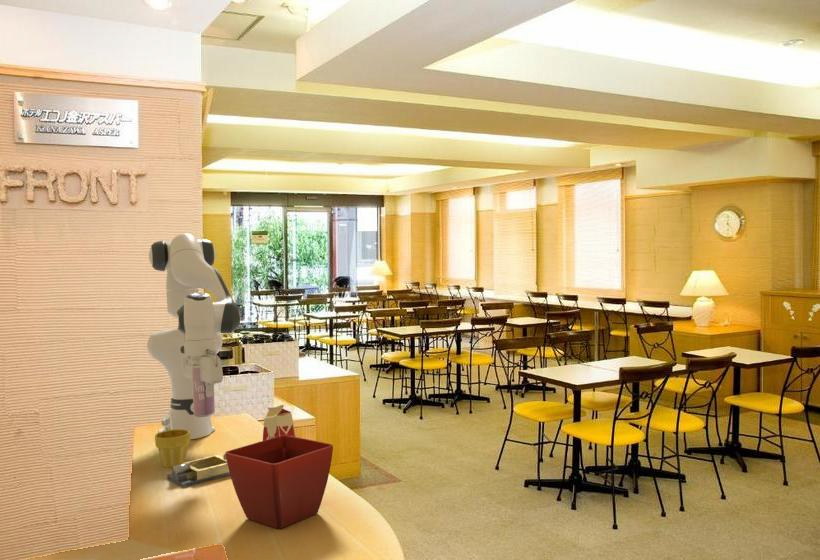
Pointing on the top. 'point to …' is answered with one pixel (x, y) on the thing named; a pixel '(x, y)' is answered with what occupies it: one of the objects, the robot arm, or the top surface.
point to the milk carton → (278, 423)
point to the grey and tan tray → (199, 470)
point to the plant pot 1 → (172, 446)
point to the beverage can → (201, 395)
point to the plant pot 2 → (280, 478)
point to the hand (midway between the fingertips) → (203, 395)
